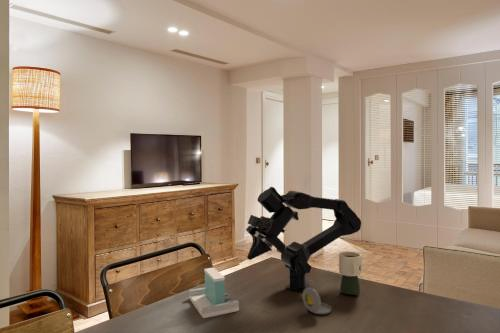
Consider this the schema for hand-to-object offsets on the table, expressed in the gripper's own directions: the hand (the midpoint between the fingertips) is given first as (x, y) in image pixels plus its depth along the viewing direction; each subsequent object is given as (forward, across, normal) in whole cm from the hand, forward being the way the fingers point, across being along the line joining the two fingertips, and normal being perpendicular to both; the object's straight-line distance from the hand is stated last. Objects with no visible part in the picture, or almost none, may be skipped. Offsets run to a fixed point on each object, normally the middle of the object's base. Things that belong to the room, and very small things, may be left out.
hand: (248, 258), depth 116 cm
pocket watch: (-1, +18, +19) cm, 26 cm away
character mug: (-13, +12, +31) cm, 36 cm away
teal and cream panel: (+16, 0, 0) cm, 16 cm away
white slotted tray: (+17, 0, +1) cm, 17 cm away
